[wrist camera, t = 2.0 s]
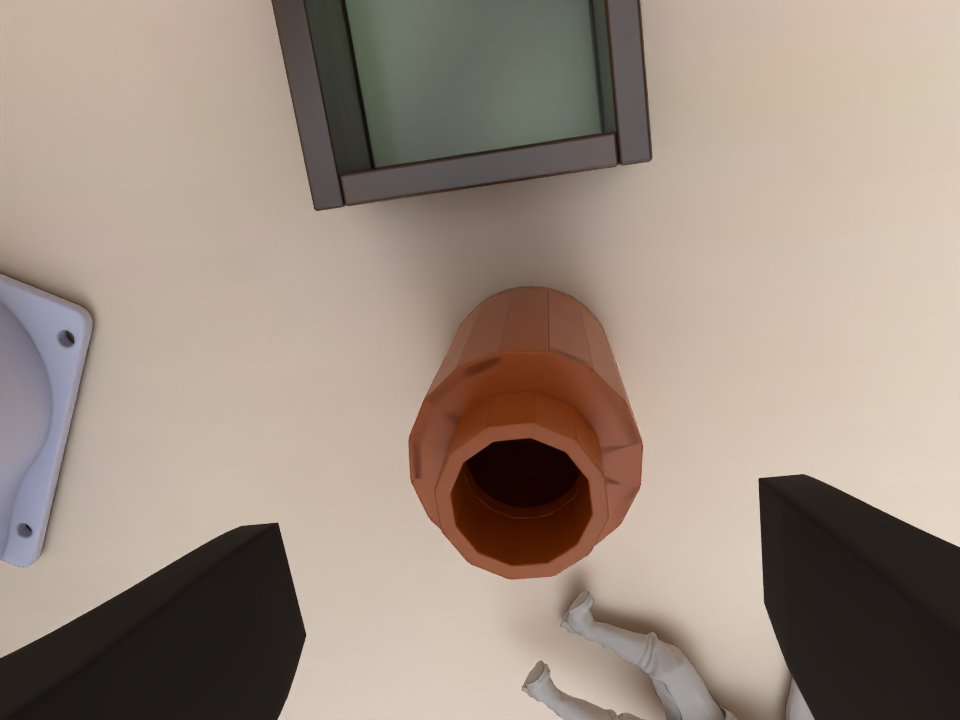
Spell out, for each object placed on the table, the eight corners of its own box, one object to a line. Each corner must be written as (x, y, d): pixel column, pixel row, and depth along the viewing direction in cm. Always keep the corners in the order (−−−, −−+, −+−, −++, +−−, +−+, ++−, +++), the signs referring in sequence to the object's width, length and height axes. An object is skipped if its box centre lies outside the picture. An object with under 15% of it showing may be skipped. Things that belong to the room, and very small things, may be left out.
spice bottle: (571, 460, 21) (588, 653, 13) (430, 403, 21) (356, 560, 13) (638, 323, 20) (702, 441, 12) (487, 261, 20) (445, 336, 12)
